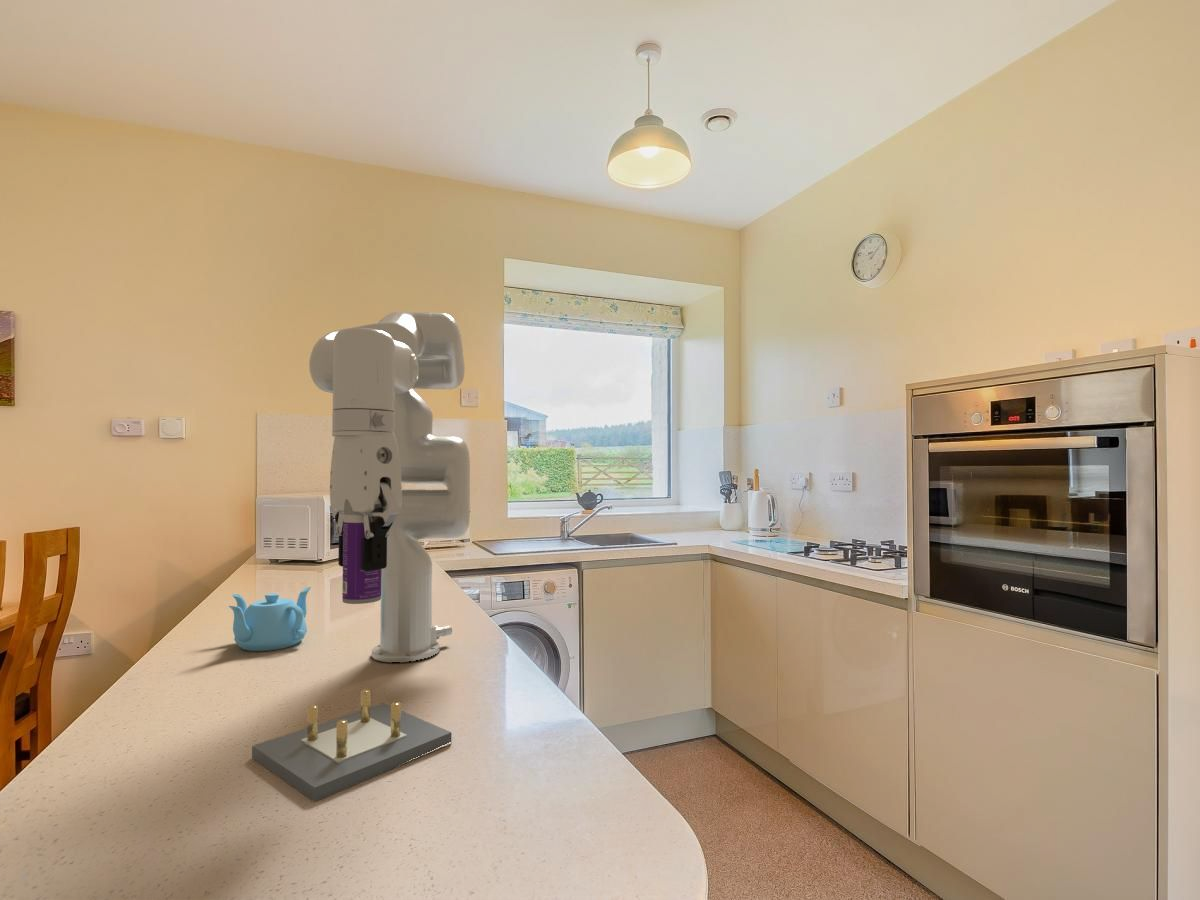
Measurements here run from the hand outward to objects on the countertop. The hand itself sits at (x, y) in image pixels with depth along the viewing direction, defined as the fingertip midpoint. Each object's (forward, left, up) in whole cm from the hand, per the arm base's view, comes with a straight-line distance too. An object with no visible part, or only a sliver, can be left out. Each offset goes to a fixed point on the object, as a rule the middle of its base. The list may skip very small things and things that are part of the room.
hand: (362, 565), depth 80 cm
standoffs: (+1, 0, -22) cm, 22 cm away
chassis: (+1, 0, -23) cm, 23 cm away
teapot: (-13, -59, -24) cm, 65 cm away
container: (0, 0, -5) cm, 5 cm away
